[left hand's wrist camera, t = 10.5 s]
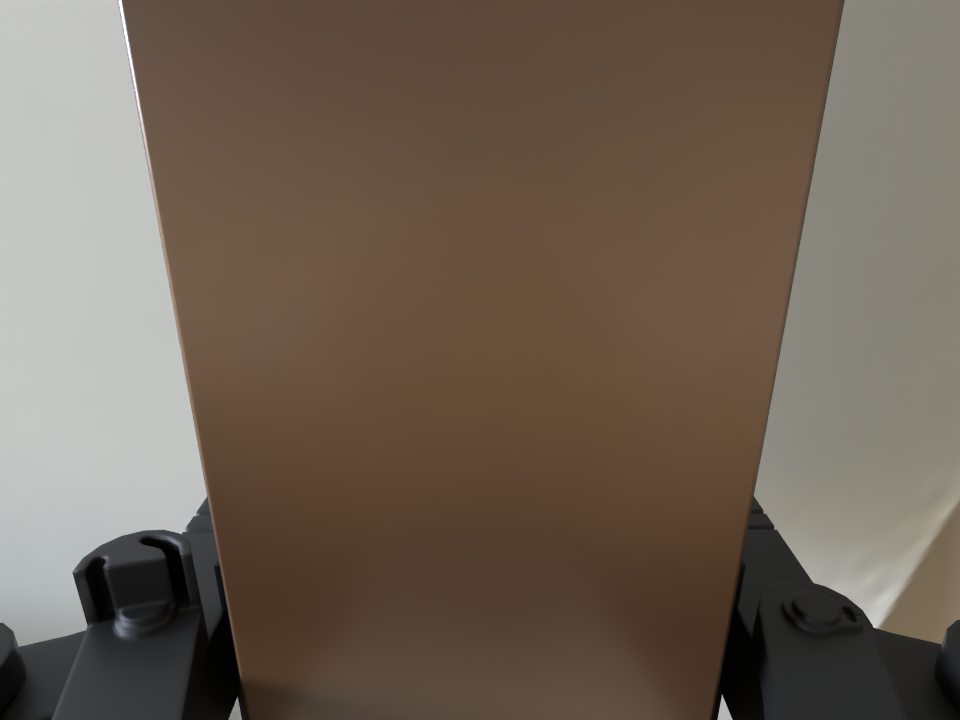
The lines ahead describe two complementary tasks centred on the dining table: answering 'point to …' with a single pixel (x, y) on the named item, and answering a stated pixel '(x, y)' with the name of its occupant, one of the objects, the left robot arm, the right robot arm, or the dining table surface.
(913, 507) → the dining table surface
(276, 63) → the post
